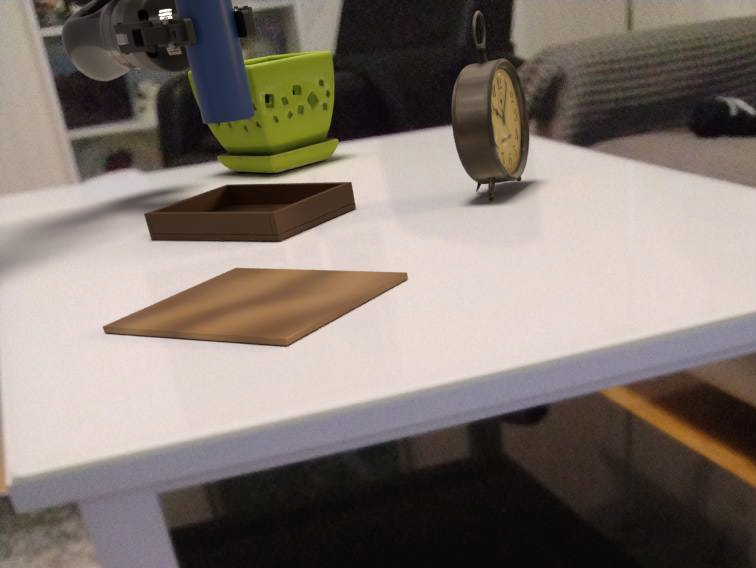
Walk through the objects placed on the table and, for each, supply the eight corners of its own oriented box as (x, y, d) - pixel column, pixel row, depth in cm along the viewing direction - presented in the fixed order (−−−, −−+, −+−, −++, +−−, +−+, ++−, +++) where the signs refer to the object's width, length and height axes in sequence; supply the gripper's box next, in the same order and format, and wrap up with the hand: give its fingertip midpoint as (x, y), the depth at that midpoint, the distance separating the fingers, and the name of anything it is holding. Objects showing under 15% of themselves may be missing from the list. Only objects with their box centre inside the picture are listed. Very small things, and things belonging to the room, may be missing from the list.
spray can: (192, 124, 101) (154, -32, 94) (226, 115, 105) (193, -36, 97) (232, 122, 99) (196, -38, 91) (265, 113, 102) (234, -42, 95)
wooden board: (104, 332, 79) (102, 326, 79) (237, 273, 90) (235, 267, 90) (286, 346, 71) (285, 338, 70) (408, 278, 82) (407, 272, 81)
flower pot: (353, 156, 137) (335, 48, 130) (273, 180, 129) (248, 65, 122) (287, 154, 145) (266, 52, 138) (208, 176, 137) (181, 69, 130)
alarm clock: (502, 203, 101) (483, 13, 92) (452, 206, 103) (429, 19, 94) (536, 179, 109) (522, 2, 100) (489, 182, 111) (471, 8, 102)
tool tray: (151, 239, 107) (143, 213, 105) (232, 208, 116) (226, 184, 114) (279, 241, 99) (273, 213, 97) (356, 208, 108) (351, 181, 106)
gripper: (78, -2, 102) (134, -11, 90) (211, -19, 108) (280, -29, 96) (102, 82, 106) (158, 85, 94) (228, 61, 113) (296, 61, 100)
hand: (219, 27), depth 95 cm, fingers closed on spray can, 5 cm apart
